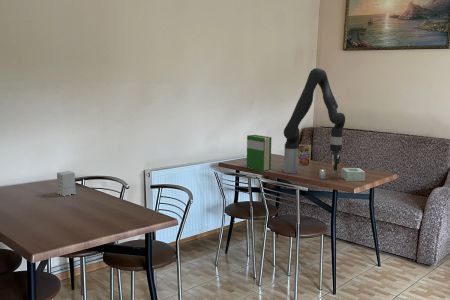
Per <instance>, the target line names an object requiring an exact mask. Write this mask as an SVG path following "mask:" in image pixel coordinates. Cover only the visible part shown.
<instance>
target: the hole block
mask: <svg viewBox="0 0 450 300" xmlns="http://www.w3.org/2000/svg"><path fill="white" fill-rule="evenodd" d="M340 176H341V178H342V179H343V180H344V181H345V182H346V181H347V182H365V179H366V171H364V170H363V169H361V168H359V167H358V168H357V167H342V168H341V173H340Z"/></svg>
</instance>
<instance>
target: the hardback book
mask: <svg viewBox="0 0 450 300" xmlns="http://www.w3.org/2000/svg"><path fill="white" fill-rule="evenodd" d="M247 167H249V168H252V169H251V170H253V169H254V171H259V172H262V173H264V172H265V171H269V170H271V171H272V169H271V168H272V137H271V136H264V135H258V134H248V135H246V168H247ZM249 168H248V169H249Z"/></svg>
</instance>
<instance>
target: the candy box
mask: <svg viewBox="0 0 450 300" xmlns="http://www.w3.org/2000/svg"><path fill="white" fill-rule="evenodd" d="M311 153H312V144H311V145H309V144H299V145H298V161H297V166H311V156H312V155H311Z"/></svg>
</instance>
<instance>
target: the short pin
mask: <svg viewBox="0 0 450 300" xmlns="http://www.w3.org/2000/svg"><path fill="white" fill-rule="evenodd" d="M319 179H320V180H326V179H327V169H323V168H321V169H319Z"/></svg>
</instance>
